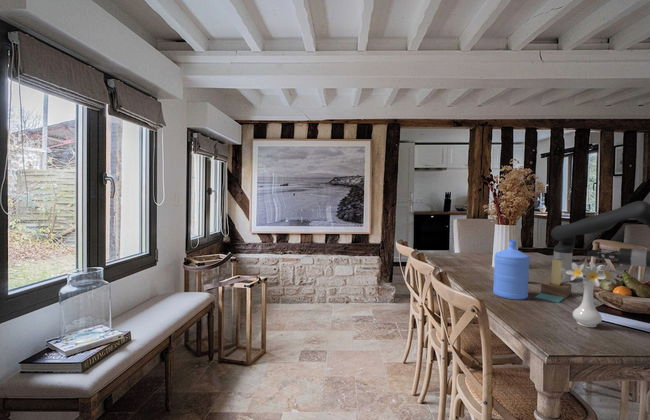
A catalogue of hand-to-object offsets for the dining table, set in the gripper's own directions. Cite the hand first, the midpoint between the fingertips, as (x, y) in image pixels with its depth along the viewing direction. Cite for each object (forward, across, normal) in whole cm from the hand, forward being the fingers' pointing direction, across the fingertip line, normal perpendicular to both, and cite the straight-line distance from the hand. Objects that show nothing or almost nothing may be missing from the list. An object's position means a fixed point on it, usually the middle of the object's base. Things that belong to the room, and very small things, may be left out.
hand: (588, 252), depth 169 cm
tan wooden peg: (+13, 0, +23) cm, 27 cm away
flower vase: (-6, +42, +24) cm, 49 cm away
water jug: (+28, +22, +24) cm, 43 cm away
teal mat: (+13, +12, +23) cm, 29 cm away
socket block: (+13, 0, +23) cm, 27 cm away
